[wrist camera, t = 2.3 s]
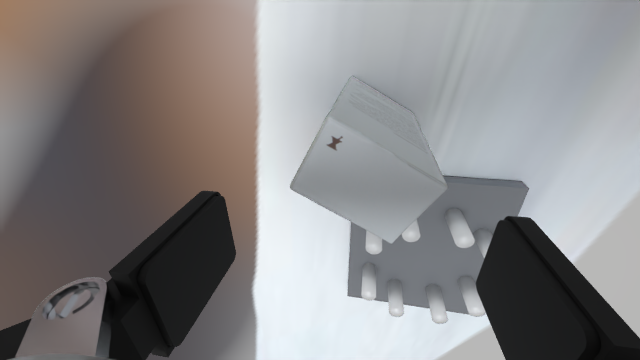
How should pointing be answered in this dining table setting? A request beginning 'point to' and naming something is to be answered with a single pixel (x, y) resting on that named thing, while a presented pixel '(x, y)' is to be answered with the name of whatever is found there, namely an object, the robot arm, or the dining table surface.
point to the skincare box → (370, 163)
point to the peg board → (435, 250)
